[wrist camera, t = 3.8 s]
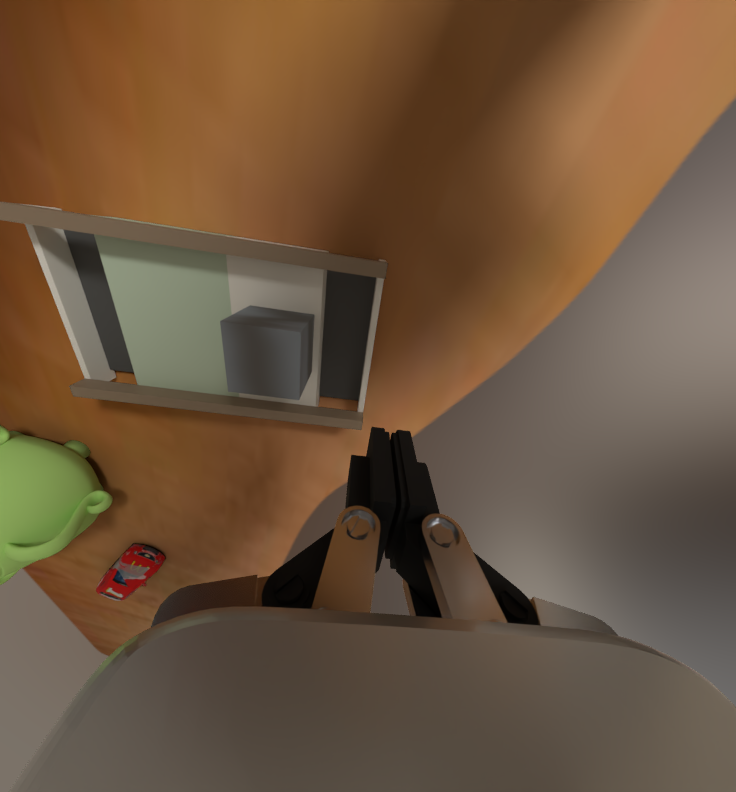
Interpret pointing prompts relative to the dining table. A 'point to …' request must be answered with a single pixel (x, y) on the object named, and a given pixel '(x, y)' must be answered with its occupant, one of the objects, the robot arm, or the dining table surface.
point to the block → (268, 351)
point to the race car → (130, 572)
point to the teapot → (43, 498)
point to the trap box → (200, 311)
